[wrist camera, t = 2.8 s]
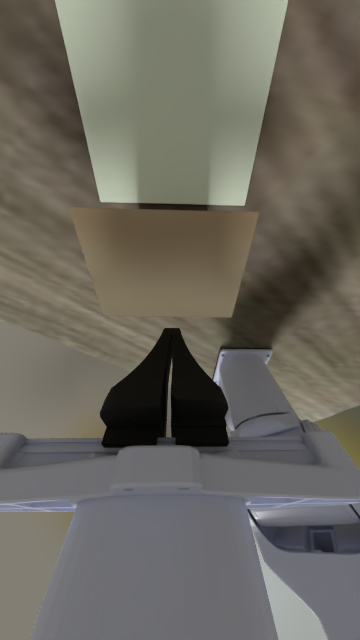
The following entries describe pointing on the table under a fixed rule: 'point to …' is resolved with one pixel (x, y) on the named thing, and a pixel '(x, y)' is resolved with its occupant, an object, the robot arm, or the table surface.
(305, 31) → the table surface
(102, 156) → the mat
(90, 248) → the birch block
